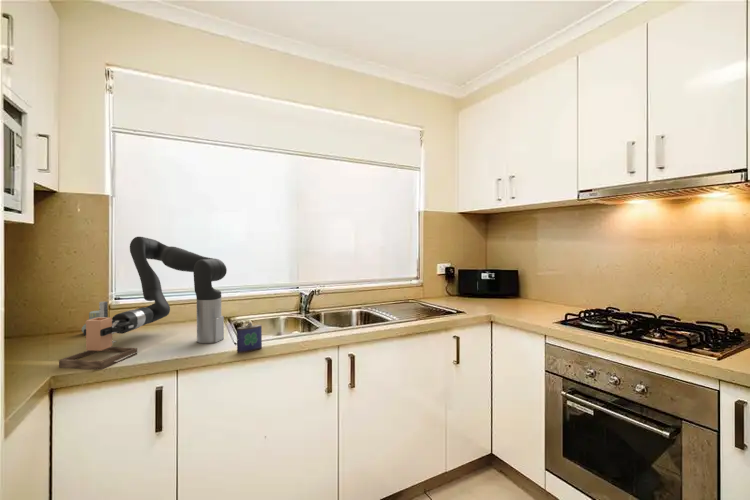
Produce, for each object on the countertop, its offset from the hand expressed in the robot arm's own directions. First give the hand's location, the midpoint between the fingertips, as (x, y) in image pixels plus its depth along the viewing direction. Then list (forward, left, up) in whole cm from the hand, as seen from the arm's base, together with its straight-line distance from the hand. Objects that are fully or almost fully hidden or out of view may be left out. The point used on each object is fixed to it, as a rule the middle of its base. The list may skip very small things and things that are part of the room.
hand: (93, 332), depth 121 cm
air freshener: (+29, -32, -10) cm, 44 cm away
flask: (-45, -20, -10) cm, 50 cm away
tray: (0, -3, -10) cm, 10 cm away
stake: (+13, -18, -10) cm, 24 cm away
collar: (0, -3, -6) cm, 7 cm away
